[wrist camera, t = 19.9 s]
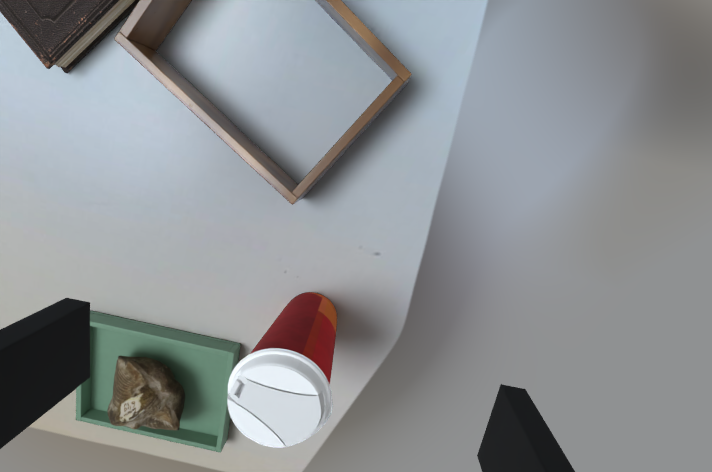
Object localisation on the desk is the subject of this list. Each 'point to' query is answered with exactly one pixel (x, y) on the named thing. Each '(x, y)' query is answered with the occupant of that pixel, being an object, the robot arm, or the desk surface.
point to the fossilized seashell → (145, 395)
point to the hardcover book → (64, 26)
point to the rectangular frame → (145, 35)
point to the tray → (186, 361)
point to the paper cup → (287, 376)
